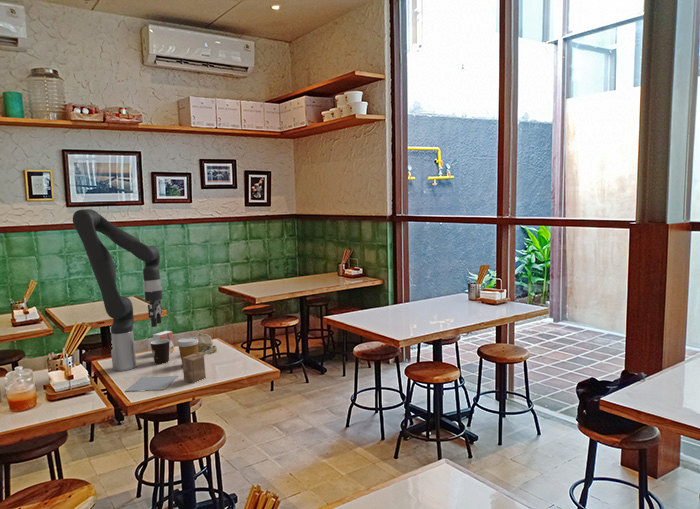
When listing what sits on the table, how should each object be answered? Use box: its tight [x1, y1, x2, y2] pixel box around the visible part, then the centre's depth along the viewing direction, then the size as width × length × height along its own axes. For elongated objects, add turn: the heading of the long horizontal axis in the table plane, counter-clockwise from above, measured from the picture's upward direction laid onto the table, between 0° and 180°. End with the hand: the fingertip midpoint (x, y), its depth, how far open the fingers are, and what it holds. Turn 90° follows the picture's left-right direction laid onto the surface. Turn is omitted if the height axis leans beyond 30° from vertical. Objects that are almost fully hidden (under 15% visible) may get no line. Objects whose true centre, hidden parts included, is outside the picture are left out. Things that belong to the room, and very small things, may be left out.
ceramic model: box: [193, 332, 218, 356], centre depth 263 cm, size 14×11×10 cm
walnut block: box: [181, 354, 207, 383], centre depth 222 cm, size 6×6×10 cm
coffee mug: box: [150, 339, 170, 365], centre depth 251 cm, size 12×9×10 cm
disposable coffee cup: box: [176, 336, 199, 366], centre depth 243 cm, size 10×10×12 cm
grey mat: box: [124, 375, 179, 392], centre depth 220 cm, size 16×16×1 cm
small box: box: [152, 330, 175, 353], centre depth 265 cm, size 8×6×10 cm
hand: (156, 325), depth 240 cm, fingers open, 8 cm apart
